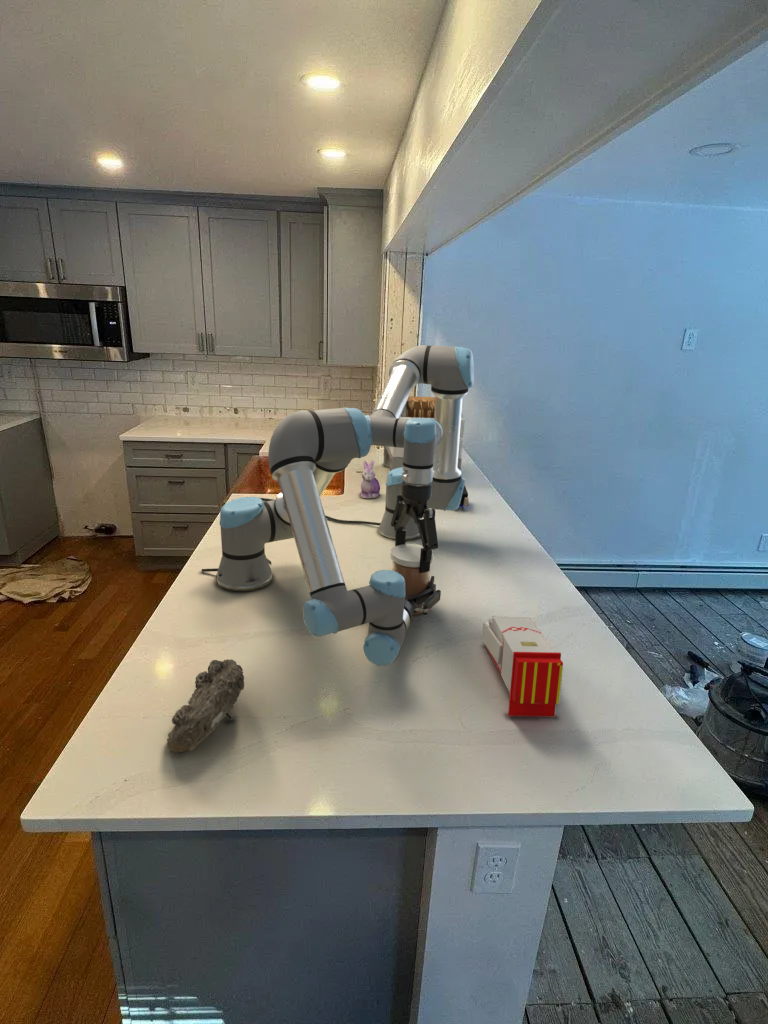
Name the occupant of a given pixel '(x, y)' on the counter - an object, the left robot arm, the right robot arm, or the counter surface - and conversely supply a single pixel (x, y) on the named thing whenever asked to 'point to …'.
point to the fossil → (206, 705)
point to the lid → (408, 555)
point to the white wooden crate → (412, 409)
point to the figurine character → (464, 498)
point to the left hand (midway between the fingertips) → (413, 577)
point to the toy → (525, 665)
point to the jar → (413, 579)
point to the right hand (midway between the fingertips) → (411, 562)
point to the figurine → (369, 482)
